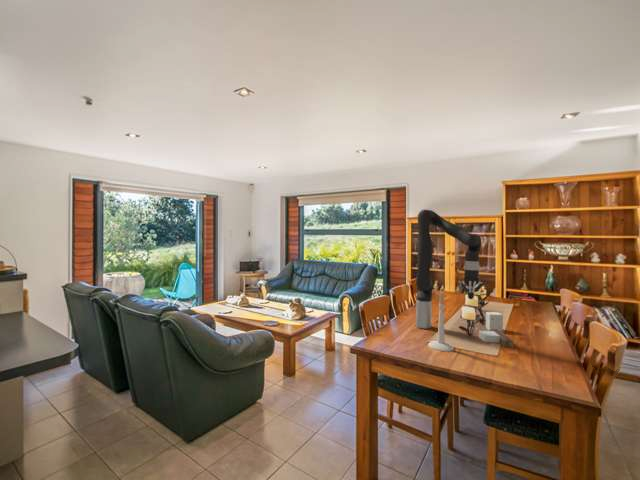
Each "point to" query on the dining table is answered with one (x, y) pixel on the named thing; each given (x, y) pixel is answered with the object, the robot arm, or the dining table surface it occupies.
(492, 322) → the small box
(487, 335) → the block
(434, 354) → the dining table surface
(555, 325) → the dining table surface
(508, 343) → the brown long bar
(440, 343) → the candlestick
